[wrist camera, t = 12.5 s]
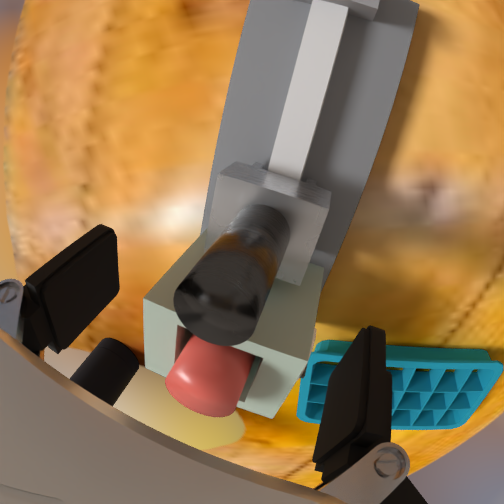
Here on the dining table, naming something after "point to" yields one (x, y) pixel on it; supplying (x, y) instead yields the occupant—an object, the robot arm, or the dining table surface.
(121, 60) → the dining table surface
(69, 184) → the dining table surface
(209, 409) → the button
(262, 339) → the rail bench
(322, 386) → the ice cube tray
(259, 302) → the carriage
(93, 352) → the wine bottle
